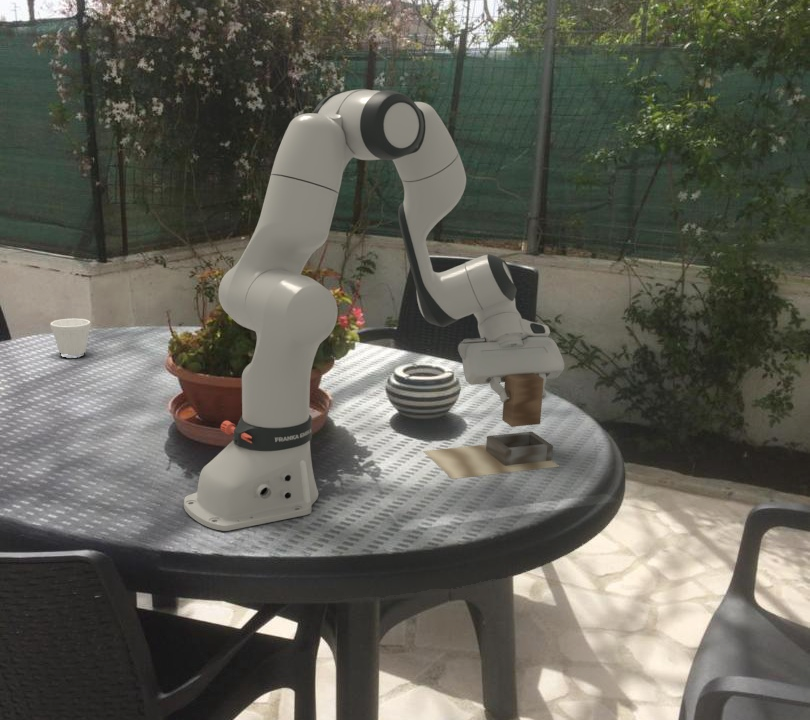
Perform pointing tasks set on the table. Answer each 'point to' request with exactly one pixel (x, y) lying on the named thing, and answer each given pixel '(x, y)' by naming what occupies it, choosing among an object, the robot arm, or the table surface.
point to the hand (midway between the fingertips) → (524, 399)
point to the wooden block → (523, 399)
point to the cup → (71, 335)
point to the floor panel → (495, 456)
